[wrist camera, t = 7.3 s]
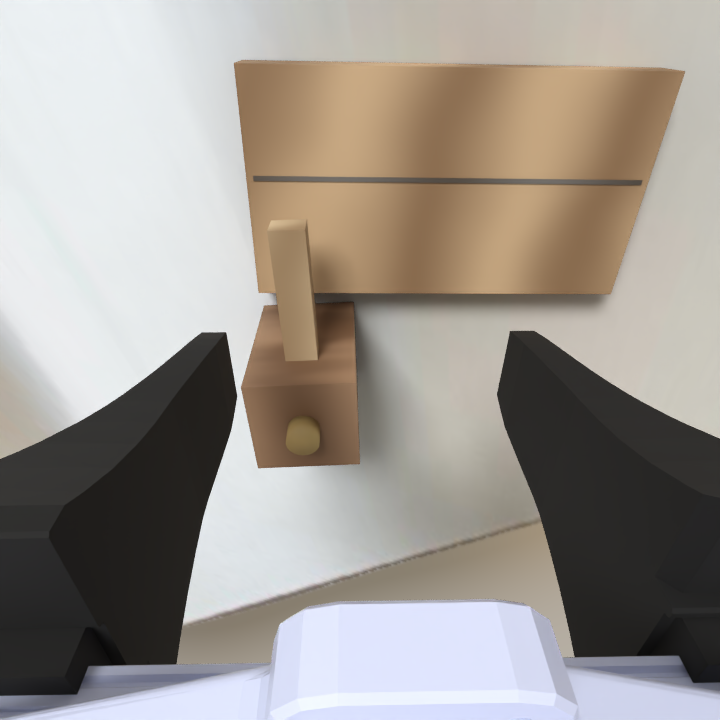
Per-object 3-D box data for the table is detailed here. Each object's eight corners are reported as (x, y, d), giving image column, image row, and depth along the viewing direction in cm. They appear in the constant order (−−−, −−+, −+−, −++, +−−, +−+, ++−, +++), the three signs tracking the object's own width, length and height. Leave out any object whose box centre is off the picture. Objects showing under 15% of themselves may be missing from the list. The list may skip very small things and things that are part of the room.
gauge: (348, 187, 19) (349, 256, 14) (356, 374, 24) (360, 479, 19) (246, 192, 19) (205, 262, 14) (275, 377, 24) (255, 484, 19)
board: (660, 67, 17) (686, 71, 16) (595, 278, 22) (611, 294, 21) (242, 59, 17) (233, 63, 16) (263, 277, 21) (258, 293, 20)
